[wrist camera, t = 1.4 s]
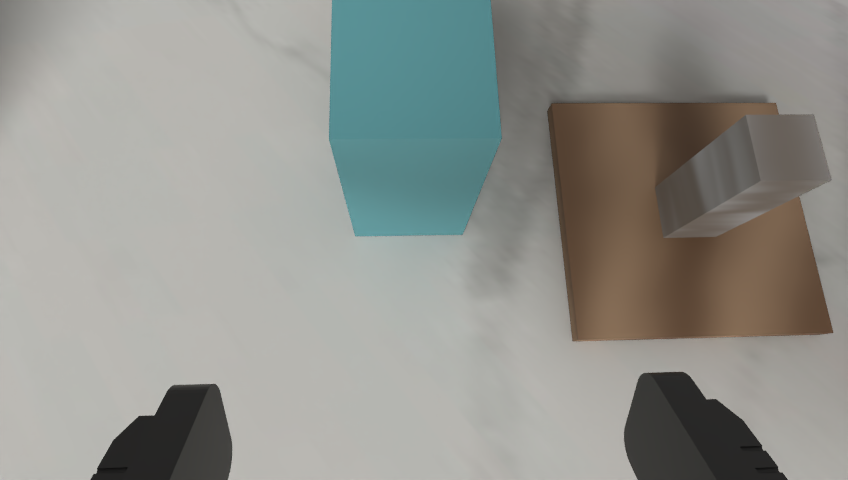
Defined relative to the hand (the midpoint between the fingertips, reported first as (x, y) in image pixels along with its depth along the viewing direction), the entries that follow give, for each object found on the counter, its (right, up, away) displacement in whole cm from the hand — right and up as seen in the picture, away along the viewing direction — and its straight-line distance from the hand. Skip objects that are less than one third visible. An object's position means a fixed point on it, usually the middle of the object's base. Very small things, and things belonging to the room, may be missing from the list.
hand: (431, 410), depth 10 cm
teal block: (-1, +6, +16) cm, 17 cm away
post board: (+13, +4, +16) cm, 21 cm away
